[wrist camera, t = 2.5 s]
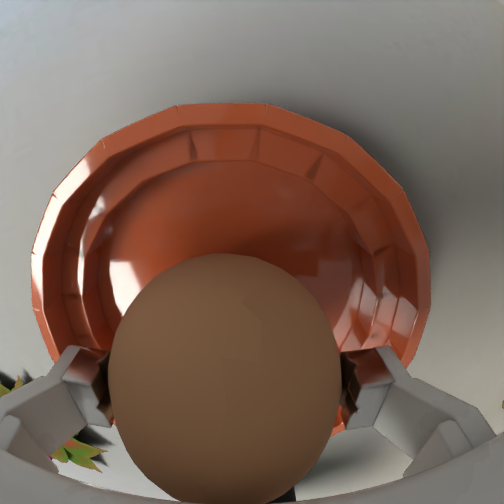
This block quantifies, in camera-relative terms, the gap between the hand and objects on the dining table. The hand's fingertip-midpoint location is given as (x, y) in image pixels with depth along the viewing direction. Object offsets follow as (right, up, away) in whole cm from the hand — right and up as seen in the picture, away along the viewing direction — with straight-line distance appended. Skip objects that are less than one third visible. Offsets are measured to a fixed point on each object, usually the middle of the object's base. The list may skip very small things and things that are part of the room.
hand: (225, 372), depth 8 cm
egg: (0, +1, +4) cm, 4 cm away
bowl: (0, +1, +4) cm, 5 cm away
